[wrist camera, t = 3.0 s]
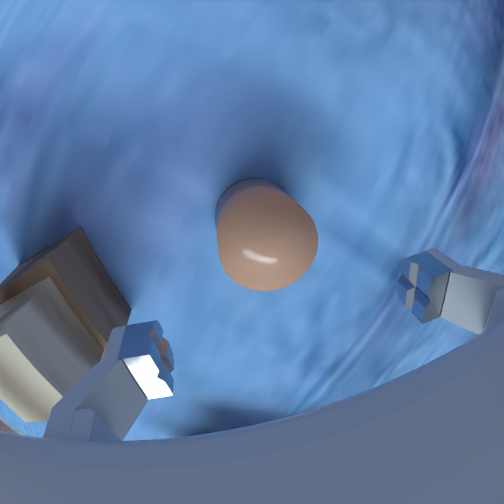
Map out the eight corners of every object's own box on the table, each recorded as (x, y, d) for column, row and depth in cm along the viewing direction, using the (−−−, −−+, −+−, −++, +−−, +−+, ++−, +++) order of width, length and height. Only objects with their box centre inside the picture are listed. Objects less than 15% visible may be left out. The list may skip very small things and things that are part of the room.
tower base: (81, 226, 17) (49, 259, 13) (131, 309, 20) (117, 355, 16) (19, 264, 17) (-14, 298, 13) (67, 334, 20) (47, 376, 16)
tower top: (49, 275, 13) (6, 333, 8) (104, 350, 15) (84, 416, 11) (-1, 304, 13) (-38, 355, 8) (48, 367, 15) (26, 422, 11)
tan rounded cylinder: (285, 171, 18) (312, 189, 13) (294, 242, 20) (321, 278, 15) (207, 187, 17) (208, 210, 13) (223, 258, 19) (230, 300, 15)
